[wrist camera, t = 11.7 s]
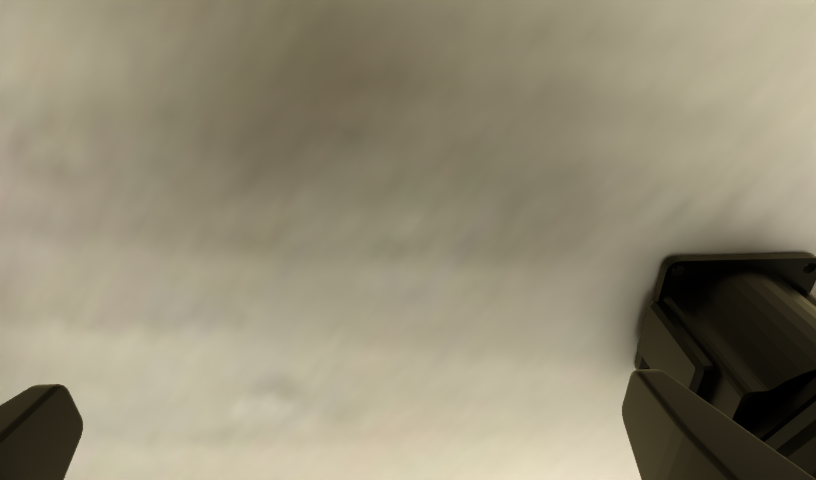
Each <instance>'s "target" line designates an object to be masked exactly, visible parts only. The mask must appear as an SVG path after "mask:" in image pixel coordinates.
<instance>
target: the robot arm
mask: <svg viewBox="0 0 816 480" xmlns="http://www.w3.org/2000/svg"><path fill="white" fill-rule="evenodd" d="M807 264H808V265H807ZM806 265H807V266H806ZM677 266H679V268H678V269H677V270H675V271H673V269H674V268H675V267H677ZM805 266H806V267H805ZM815 281H816V257H815V256H814V255H813V254H810V253H786V254H742V255H698V256H674V257H670V258H669V259H667V260H666V261H665V262H664V263H663V265H662V267H661V271H660V275H659V278H658V282H657V286H656V289H655V293H654V296H653V300H652V302H651V304H650V305H649V306H648V310H647V313H646V317H645V321H644V324H643V328H642V332H641V335H640V339H639V343H638V350H639V351H638V355H637V358H636V362H635V368H636V370H635V371H634V372H633V373H632V374H631V376H630V379H629V383H628V387H627V390H626V394H625V398H624V401H623V405H622V416H623V421H624V425H625V428H626V431H627V434H628V438H629V441H630V444H631V447H632V450H633V454H634V457H635V460H636V463H637V467H638V470H639V473H640V476H641V479H642V480H816V298H815V297H814V296H812V295H811V294H810V292H811V290H812V288H813V285H814V283H815ZM647 366H648V367H647ZM645 367H646V368H645ZM82 431H83V421H82V417H81V415H80V413H79V411H78V409H77V407H76V405H75V403H74V401H73V399H72V397H71V395H70V393H69V391H68V389H67V388H66V387H65V386H63V385H60V384H49V385H35V386H32V387H30V388H28V389H27V390H25V391H23V392H22V393H20V394H19V395H17V396H15V397H14V398H12V399H10V400H9V401H7V402H5V403H4V404H2V405H0V480H64V478H65V475H66V473H67V470H68V468H69V465H70V463H71V460H72V458H73V455H74V453H75V450H76V448H77V445H78V443H79V440H80V438H81V435H82Z"/></svg>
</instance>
